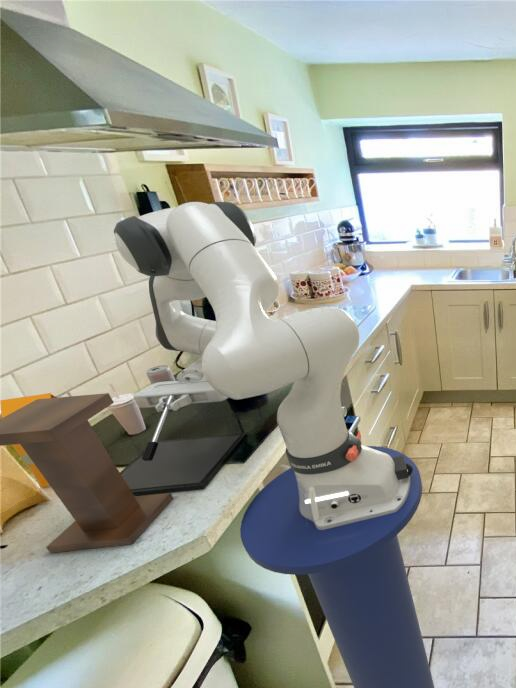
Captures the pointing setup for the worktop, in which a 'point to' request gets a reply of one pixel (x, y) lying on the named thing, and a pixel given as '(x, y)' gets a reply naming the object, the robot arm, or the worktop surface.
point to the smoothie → (127, 412)
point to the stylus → (156, 434)
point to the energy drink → (160, 374)
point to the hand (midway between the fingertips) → (165, 409)
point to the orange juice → (6, 409)
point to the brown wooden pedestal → (81, 472)
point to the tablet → (181, 464)
